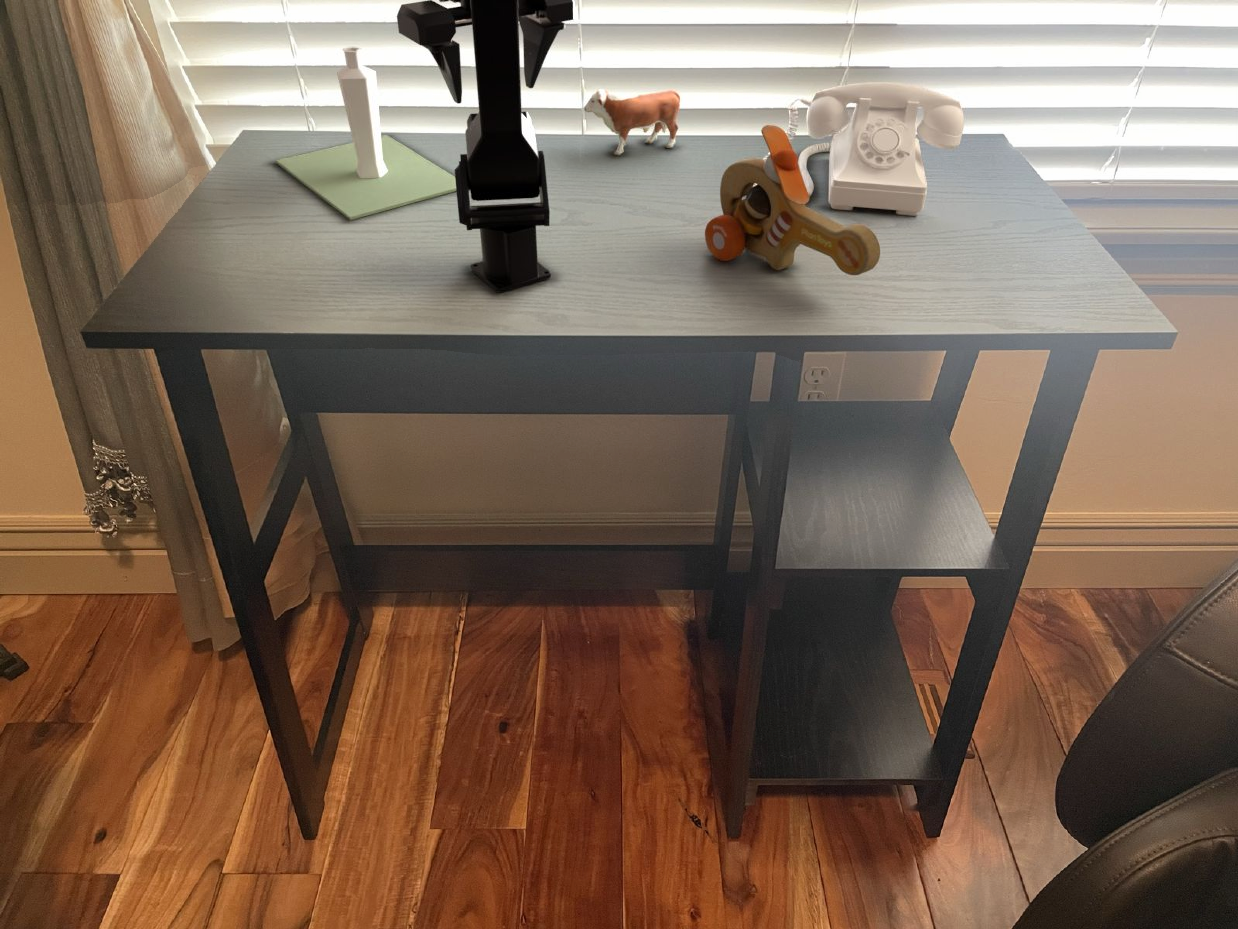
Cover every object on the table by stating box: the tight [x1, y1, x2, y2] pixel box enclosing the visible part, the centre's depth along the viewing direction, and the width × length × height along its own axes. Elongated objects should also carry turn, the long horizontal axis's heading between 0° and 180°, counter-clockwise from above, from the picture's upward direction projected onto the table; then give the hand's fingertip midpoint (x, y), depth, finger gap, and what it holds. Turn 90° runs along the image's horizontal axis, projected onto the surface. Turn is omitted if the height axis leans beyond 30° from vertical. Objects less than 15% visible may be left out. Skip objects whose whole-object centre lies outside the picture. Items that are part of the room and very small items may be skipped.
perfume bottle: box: [336, 46, 387, 178], centre depth 114 cm, size 5×4×15 cm
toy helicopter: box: [704, 124, 881, 276], centre depth 96 cm, size 8×21×14 cm, turn 39°
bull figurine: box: [583, 88, 681, 156], centre depth 125 cm, size 4×13×8 cm, turn 107°
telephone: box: [753, 81, 965, 217], centre depth 116 cm, size 25×21×12 cm
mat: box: [275, 134, 457, 221], centre depth 119 cm, size 22×16×1 cm
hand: (494, 94), depth 105 cm, fingers open, 9 cm apart
